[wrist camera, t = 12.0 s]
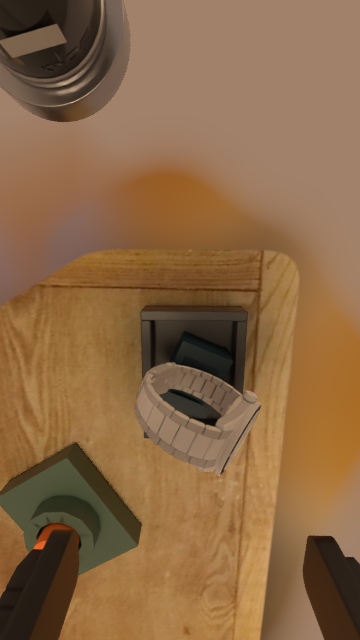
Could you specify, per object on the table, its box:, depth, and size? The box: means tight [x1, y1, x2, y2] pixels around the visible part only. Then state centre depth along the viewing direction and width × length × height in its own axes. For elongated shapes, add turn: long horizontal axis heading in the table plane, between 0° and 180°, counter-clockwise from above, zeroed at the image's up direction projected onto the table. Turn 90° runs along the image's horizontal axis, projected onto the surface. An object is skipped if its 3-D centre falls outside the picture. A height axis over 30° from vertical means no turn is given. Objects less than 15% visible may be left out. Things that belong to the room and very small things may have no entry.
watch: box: [135, 331, 261, 476], centre depth 19 cm, size 6×8×11 cm
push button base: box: [0, 443, 141, 575], centre depth 27 cm, size 12×9×4 cm
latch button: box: [33, 523, 80, 549], centre depth 25 cm, size 4×4×2 cm
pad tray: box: [141, 306, 248, 438], centre depth 24 cm, size 12×9×3 cm
